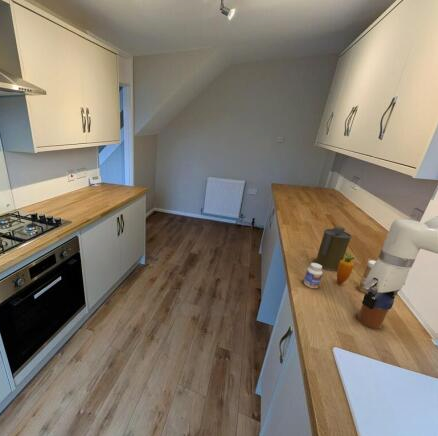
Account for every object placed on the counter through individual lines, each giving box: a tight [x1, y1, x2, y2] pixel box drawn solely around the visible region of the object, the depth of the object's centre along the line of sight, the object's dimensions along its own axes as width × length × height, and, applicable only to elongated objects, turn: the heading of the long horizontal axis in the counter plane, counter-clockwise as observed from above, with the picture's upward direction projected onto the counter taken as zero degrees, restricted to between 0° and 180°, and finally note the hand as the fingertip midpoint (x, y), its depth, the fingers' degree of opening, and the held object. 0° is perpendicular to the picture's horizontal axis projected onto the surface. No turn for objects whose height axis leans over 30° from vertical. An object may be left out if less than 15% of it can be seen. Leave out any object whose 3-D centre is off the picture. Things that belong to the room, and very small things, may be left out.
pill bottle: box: [303, 262, 323, 289], centre depth 100 cm, size 5×5×10 cm
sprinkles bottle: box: [357, 259, 377, 293], centre depth 96 cm, size 5×5×13 cm
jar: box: [357, 303, 389, 330], centre depth 81 cm, size 6×6×10 cm
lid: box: [363, 290, 395, 311], centre depth 79 cm, size 7×7×3 cm
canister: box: [314, 226, 353, 272], centre depth 114 cm, size 11×10×20 cm
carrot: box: [336, 251, 356, 285], centre depth 100 cm, size 5×5×15 cm
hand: (376, 304), depth 80 cm, fingers closed on lid, 6 cm apart
